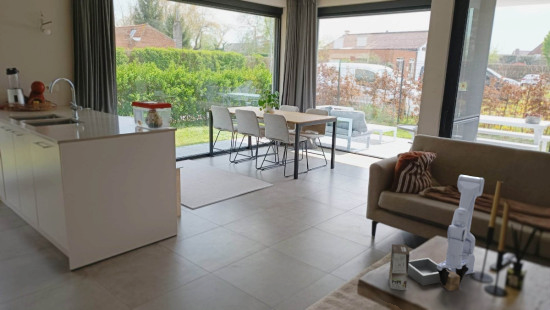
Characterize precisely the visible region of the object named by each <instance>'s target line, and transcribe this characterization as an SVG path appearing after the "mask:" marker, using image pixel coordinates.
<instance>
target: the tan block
mask: <svg viewBox="0 0 550 310" xmlns="http://www.w3.org/2000/svg"><path fill="white" fill-rule="evenodd" d="M448 272H449V273H450V274H449V275H448V278H447V282H446V285H445V286H444V285H442V284H441V286H442V287H443V288H445V289H446V290H448V291H449V292H451V291H457V290H458V291H459V288H460V283H459V281H460V276H459V275H457V274H456V273H454V272H453V271H450V270H449V271H448Z"/></svg>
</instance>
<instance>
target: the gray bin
mask: <svg viewBox="0 0 550 310" xmlns="http://www.w3.org/2000/svg"><path fill="white" fill-rule="evenodd" d="M437 264H438V263H436V261H434V260H432V259H431V258H430V257H424V258H416V259H411V260H410V259H409V265H408V274H407V276H409V277H411V278H412V279H413V280H415V281H416V282H417V283H418V284H419V285H421V286H426V285H432V284H433V285H434V284H438V283H441V281H440V276H439V273H438V270H437Z"/></svg>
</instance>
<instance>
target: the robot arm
mask: <svg viewBox="0 0 550 310" xmlns="http://www.w3.org/2000/svg"><path fill="white" fill-rule="evenodd" d="M456 185H457V189H458V192H459V193H460V199H459V205H458V207H457V208H456V209H455V210H454V213H453V216H452V217H453V218H452V220H451V224H450V225H449V226H448V228H447V240H446V241H447V248H446V257H445V260H444V261H443V262H440V263H437V270H438V273H439V276H440V281H441V282H440V284H441V286H442V285H444V286H445V285H446V282H447V278H448V275H449V274H450V273H449V272H450V271H453V272H454V273H456V274H457V275H459V276H460V281H459V284H460V283H462V281H463V279H464V276H465V275H468V274H469V275H470V274H475V271H474V267H475V262H476V260H475V259H476V258H475V255H474V251H475V247H476V238H475V236H474V235H473V234H472V233H471V232H470V231H471V226H472V220H473V215H474V214H473V213H474V208H475V204H476V203H475V202H476V199H477V198H478V197H481V196H482V195H483V190H484V185H485V178H484V177H477V176H470V175H465V174H460V175H459V176H458V179H457V183H456Z"/></svg>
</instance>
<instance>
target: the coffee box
mask: <svg viewBox="0 0 550 310" xmlns="http://www.w3.org/2000/svg"><path fill="white" fill-rule="evenodd" d="M410 255H411V254H410V251H409V249H408V246H407V244H393V243H392V244H391V250H390V263H389V273H388V274H389V275H388V281H389V286H390V287H389V288H390V289H393V290H400V291H406V290H407V281H408V265H409V261H410Z"/></svg>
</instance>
